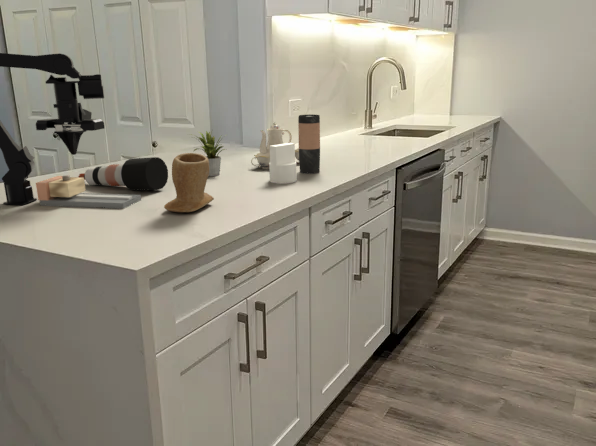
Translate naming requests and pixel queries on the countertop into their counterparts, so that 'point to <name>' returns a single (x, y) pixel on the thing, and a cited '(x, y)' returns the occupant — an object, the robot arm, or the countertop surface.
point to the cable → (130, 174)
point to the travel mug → (309, 143)
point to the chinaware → (273, 139)
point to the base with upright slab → (282, 163)
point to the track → (83, 198)
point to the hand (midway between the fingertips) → (73, 154)
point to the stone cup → (189, 183)
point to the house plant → (211, 153)
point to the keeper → (66, 186)
